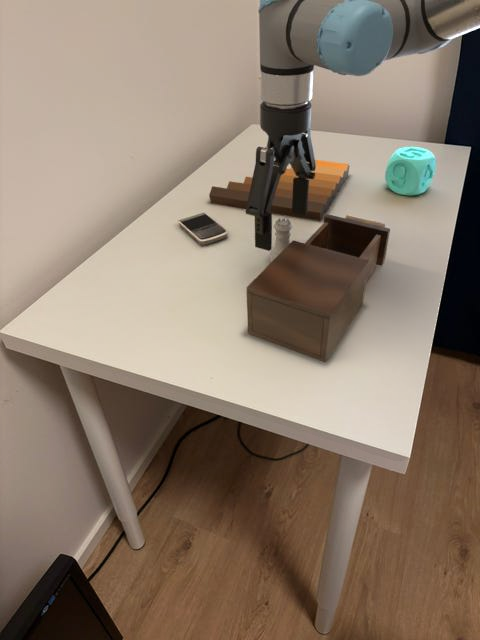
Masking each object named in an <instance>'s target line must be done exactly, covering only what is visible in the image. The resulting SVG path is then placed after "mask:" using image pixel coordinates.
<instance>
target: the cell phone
mask: <svg viewBox="0 0 480 640" xmlns="http://www.w3.org/2000/svg"><path fill="white" fill-rule="evenodd" d="M177 222H178V225H179V226H180V227H181V228H182V229H183V230H184V231H186V233H188V235H190V236H191V237H192V238H193V239H194V240H195V241H196V242H198V243H199V244H200V245H201V246H205V245H209V244H212V243H215V242H219V241H220V240H223V239H226V238H227V236H228V233H229V232H228V231H227V230H226V229H225V228H224V227H223V226H222V225H220V224H219V223H218V222H217V221H216V220H214V219H213V218H212V217H210V216H209V215H208V214H207V213H205V212H201V213H197V214H195V215H191V216H187V217H185V218H181V219H178V220H177Z"/></svg>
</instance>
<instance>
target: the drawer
mask: <svg viewBox="0 0 480 640" xmlns="http://www.w3.org/2000/svg"><path fill="white" fill-rule="evenodd" d="M385 226H386V224H385V223H383V222H379V221H375V220H370V219H366V218H362V217H358V216H353V215H350V214H349V215H348V214H347V215H346V216H345V217H342V216H339V215H333V214H329V213H327V214H326V213H325V214H324V216H323V223H322V224H321V225H320V226H319V227H318V228H317V230H316V231H314V233H313V234H312V235H311V236H310V237H309V238H307V240H306V241H305V242H304V243H305V244H309V245H313V246H317V247H320V248H324V249H328V250H332V251H336V252H339V253H343V254H347V255H351V256H354V257H358V258H362V259H366V260H369V264H368V271H367V277H366V282H367V281H368V279H369V278H370V277H371V275H372V274H373V272H374V270H375V269H376V268H377V266H379V267H383V266H384V264H385V261H386V256H387V255H386V254H387V250H388V243H389V238H390V233H391V228H390V227H385Z"/></svg>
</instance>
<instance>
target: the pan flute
mask: <svg viewBox="0 0 480 640" xmlns="http://www.w3.org/2000/svg"><path fill="white" fill-rule="evenodd" d="M307 163H309V162H307ZM315 164H316V169H315V171H311V172H313V173H315V178H314V179H308V180H309V191H308V206H307V215H306V216H304V215H300V214H296V213H292V198H293V179H294V178H295V177H296V178H298V176H296V174H295V172H294V170H293V169H292V167H291V166H290V168H286V171H285V173H284V174H282V175H281V177H280V180H279V183H278V186H277V189H276V192H275V195H274V198H273V202H272V205H271V208H270V211H269V213H272V214H277V215H284V216H289V217H295V218H296V217H297V218H301V219H308V220H314V221H319V222H321V221H322V219H324V216H325V214H326V213H327V211H328V210H329V207H330V206H331V205H332V204H333V201H334V200H335V198H336V196H337V195H338V193H339V192H340V190H341V188H342V187H343V185H344V183H345V181H346V180H347V179H348V177H349V173H350V168H351V167H350V164H349V163H344V162H336V161H328V160H320V159H315ZM252 178H253V176H245V177H244V181H243V182H238V181H237V182H236V181H230V180H229V181H228V184H227V187H219V186H211V189H210V191H209V194H208V196H209V200H210V203H211V204H217V205H222V206H230V207H236V208H242V209H246V207H247V202H248V197H249V193H250V188H251V183H252Z"/></svg>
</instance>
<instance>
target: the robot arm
mask: <svg viewBox="0 0 480 640" xmlns="http://www.w3.org/2000/svg"><path fill="white" fill-rule="evenodd" d="M257 11H258V24H259V26H258V29H259V31H258V32H259V63H260V64H259V67H260V74H259V75H258V79H259V81H260V87H259V88H260V92H259V93H260V97H259V98H260V99H261V101H262V102H261V103H260V105H259V109H260V110H259V126H260V129H261V130H262V131H263V132H264V133H266V135H267V137H268V138H267V143H266V146H265V147H264V146H263V147H262V146H257V148H256V149H255V150H256V151H255V165H254V169H253V173H252V177H253V178H252V183H251V188H250V193H249V197H248V202H247V207H246V208H245V214H246V215H249V216H252V217H254V247H255V248H257V249H259V250H260V249H261V250H265V251H268V252H271V251H272V250H273V246H272V244H273V242H272V241H273V213H271V212H269V211H270V208H271V205H272V202H273V198H274V195H275V192H276V189H277V186H278V183H279V180H280V177H281V175H282V174H284V173H285V171H286V169H288V166H289V165H290V168H291V167H292V169H293V170H294V172H295V174H296V176H298V178H296V177H295V178H294V179H293V198H292V213H296V214H300V215H304V216H306V215H307V206H308V191H309V180H308V179H314V178H315V173H313V172H311V171H315V169H316V164H315V160H316V159H315V153H314V148H313V142H312V141H313V140H312V136H311V131H312V126H311V125H312V123H311V121H312V120H311V118H312V103H311V102H310V101H311V100H312V99H313V91H314V73H315V70H314V68H315V66H316V67H319V68H321V69H324V70H329V71H331V72H332V73H334V74H335V73H336V74H338V75H341V76H353V77H364V76H368V75H369V74H372V72H374V70H375V69H376V68H378V67H379V66H381V65H382V64H383V62H385V61H389V60H391V59H397V58H400V57H407V56H411V55H412V56H413V55H417V54H418V55H422V54H427V53H430V52H433V51H435V50H437V49H441V48H443V47H445V46H446V45H448V44H449V43H451V41H452V40H453V39H455V38H458V37H460V36H463V35H465V34H468V33H470V32H472V31H476V30H477V29H480V0H259V7H258V10H257ZM307 162H309V163H307Z"/></svg>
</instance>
